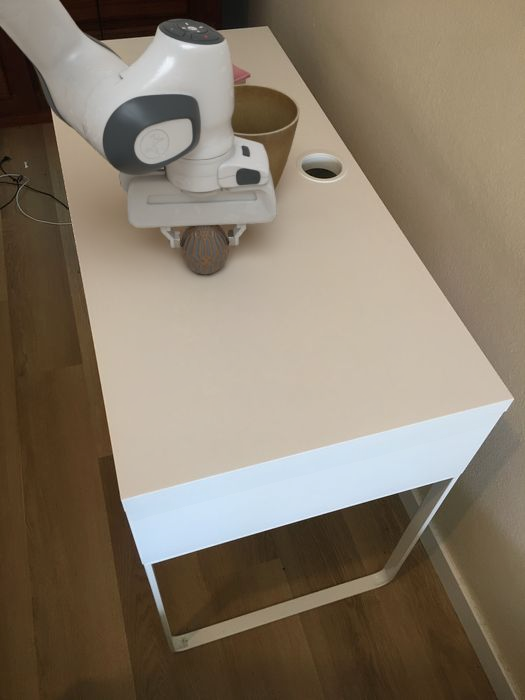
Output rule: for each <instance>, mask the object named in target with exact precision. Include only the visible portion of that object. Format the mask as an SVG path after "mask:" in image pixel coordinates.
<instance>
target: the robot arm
mask: <svg viewBox="0 0 525 700" xmlns="http://www.w3.org/2000/svg"><path fill="white" fill-rule="evenodd" d="M0 28H1V29H2V30H3V31H4V33H5V34H6V35H7V36H8V37H9V38H10V40H11V41H12V42H13V43H14V44H15V46H17V48H18V49H19V50H20V51H21V52H22V53H23V54H24V56H25V57H26V58H27V60H28V61H29V62H30V63H31V64H32V66H33V68H34V71H35V72H36V74H37V77H38V79H39V82H40V86H41V89H42V92H43V94H44V95H43V96H44V98H45V100H46V102H47V104H48V106H49V107H50V109H51V111H52V112H53V113H54V115H55V116H57V117H58V119H60V120H61V121H62V122H64V123H65V124H66V125H67V126H69V127H70V128H71V129H73V130H74V131H75V132H76V133H77V134H78V135H79V136H80V137H81V138H82V139H83V140H85V142H87V144H88V145H90V147H92V148H93V149H94V150H95V152H97V153H98V154H99V155H100V156H101V158H103V159H104V160H105V161H106V162H107V163H109V164H110V165H111V166H112V167H113V168H114V169H115V170H117V171H118V172H119V173H118V178H119V183H120V188H121V189H122V190H123V191H124V193H126V195H127V197H126V210H127V220H128V223H129V224H130V225H132V227H134V228H135V229H146V228H159V229H160V232H161V233H162V235H163V236H165V237H166V239H168V241H169V243H170V244H169V245H170V249H181V241H182V237H181V231H175V230H174V229H173V228H172V227H188V226H200V225H219V226H222V225H235V226H234V227H233V228H232V229H227V240H228V246H239V243H240V242H239V239H240V237H241V236H242V235H243V233H245V231H246V229H247V224H270V223H271V222H273V221H274V220H275V218H276V217H277V213H278V212H277V210H278V209H277V198H276V197H277V196H276V192H275V191H276V189H275V190H274V184H273V180H272V175H271V172H270V169H269V160H268V156H267V153H266V150H265V148H264V146H263V145H262V144H261V143H258V142H254V141H251V140H247V139H243V138H240V137H237V136H234V132H233V129H232V125H231V118H232V115H233V112H234V74H233V65H234V64H233V59H232V53H231V49H230V45H229V43H228V40H227V38H226V37H225V36H223V34H222V33H221V32H219V31H217V29H215V28H213V27H211V26H209V25H207V24H206V23H204V22H201V21H200V22H199V21H195V20H193V19H185V18H174V19H173V18H172V19H169V20H166V21H163V22H161V23H160V24H159V25H158V26H157V29H156V30H155V31H156V32H155V35H154V38H153V39H152V41H151V43H150V44H149V45H148V47H147V48H146V49H145V50H144V52H143V53H142V54H141V55H140V56H139V57H138V59H136V60H135V61H134V62H133V63H132V64H129V63H127V62H126V61H124V60H123V59H122V58H121V56H119V55H118V54H117V53H116V52H115V51H114V50H113V49H112V48H110V46H108V45H107V44H105V43H104V42H102V41H100V40H99V39H97V38H95V37H93V36H91V35H89V34H87V33H86V32H84V31H82V29H81V28H79V26H78V25H77V24H76V22H75V21H74V20H73V18H72V17H71V15H70V13H69V12H68V10H67V9H66V8H65V6H64V5H63V4H62V2H61V1H60V0H0Z"/></svg>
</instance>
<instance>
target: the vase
mask: <svg viewBox="0 0 525 700" xmlns="http://www.w3.org/2000/svg"><path fill="white" fill-rule="evenodd" d="M186 227H187V228H185V230H184V232H183V234H182V237H181V248H180V249H181V255H182V258H183V261H184V263H185V264H186V266H187V267H188V268H189V270H191V271H192V272H195V273H197V274H201V275H212V274H215V273H216V272H218V271H219V270H221V268H223V267H224V265H225V264H226V262H227V259H228V256H229V249H230V247H229V246H230V245H228V235H227V234H226V232H225V230H224V229H223V227H222V226H221V225H200V226H186Z"/></svg>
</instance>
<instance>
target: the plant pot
mask: <svg viewBox="0 0 525 700" xmlns="http://www.w3.org/2000/svg"><path fill="white" fill-rule="evenodd" d="M300 114H301V109H300V106H299V104H298V102H297V101H296V99H294V98H293V97H292V96H291V95H289V94H288V93H286V92H285V91H283V90H280V89H278V88H275V87H271V86H267V85H261V84H254V83H253V84H252V83H250V84H249V83H246V84H241V85H234V112H233V115H232V118H231V125H232V129H233V132H234V136H237V137H240V138H243V139H247V140H251V141H254V142H258V143H261V144H262V145H263V146H264V148H265V150H266V153H267V156H268V160H269V169H270V172H271V175H272V180H273V184H274V190H275V191H276V188H278V185H279V182H280V180H281V177H282V175H283V173H284V170H285V167H286V165H287V162H288V160H289V156H290V153H291V149H292V146H293V141H294V139H295V135H296V130H297V128H298V127H297V126H298V123H299V119H300V116H301V115H300Z"/></svg>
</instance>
